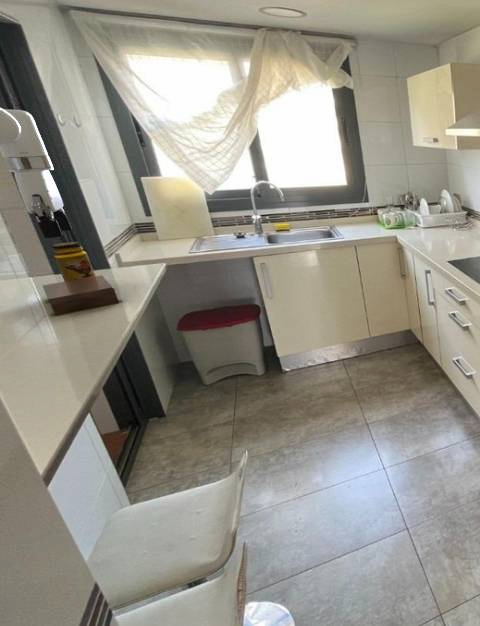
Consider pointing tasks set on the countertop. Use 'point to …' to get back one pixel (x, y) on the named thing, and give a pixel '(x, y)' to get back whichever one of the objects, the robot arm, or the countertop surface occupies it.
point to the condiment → (72, 261)
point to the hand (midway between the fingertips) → (59, 233)
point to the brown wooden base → (80, 294)
